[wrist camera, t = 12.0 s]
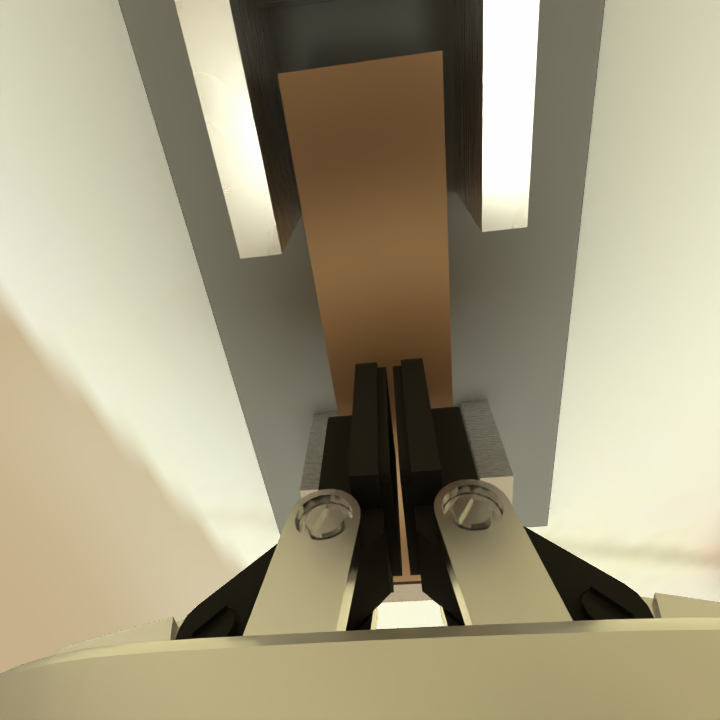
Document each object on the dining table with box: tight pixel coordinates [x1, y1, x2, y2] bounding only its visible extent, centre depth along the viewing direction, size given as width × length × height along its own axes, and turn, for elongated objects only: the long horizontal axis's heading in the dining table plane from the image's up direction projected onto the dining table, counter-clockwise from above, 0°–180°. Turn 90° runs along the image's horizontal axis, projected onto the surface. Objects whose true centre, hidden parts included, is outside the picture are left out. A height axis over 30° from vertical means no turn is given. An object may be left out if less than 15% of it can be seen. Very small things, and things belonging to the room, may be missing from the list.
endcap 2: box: [300, 399, 514, 602], centre depth 18 cm, size 6×7×4 cm
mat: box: [118, 0, 605, 536], centre depth 17 cm, size 22×12×1 cm, turn 7°
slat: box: [277, 50, 453, 582], centre depth 15 cm, size 16×3×4 cm, turn 7°
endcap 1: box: [174, 0, 540, 259], centre depth 11 cm, size 6×7×4 cm
